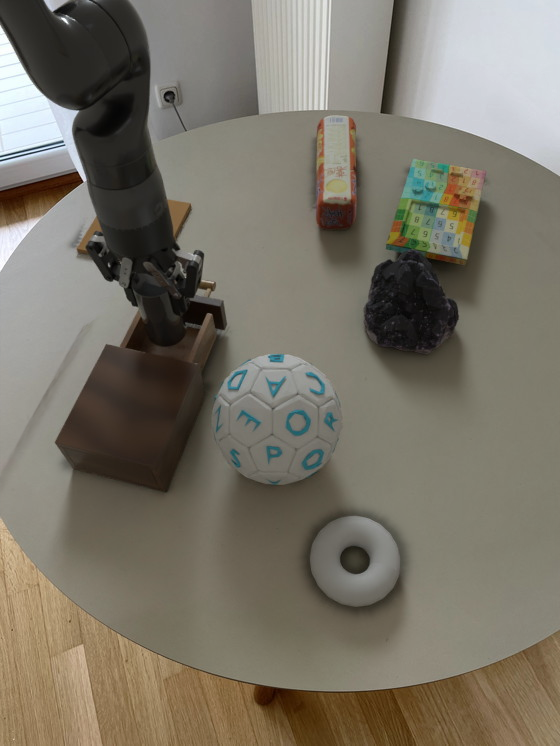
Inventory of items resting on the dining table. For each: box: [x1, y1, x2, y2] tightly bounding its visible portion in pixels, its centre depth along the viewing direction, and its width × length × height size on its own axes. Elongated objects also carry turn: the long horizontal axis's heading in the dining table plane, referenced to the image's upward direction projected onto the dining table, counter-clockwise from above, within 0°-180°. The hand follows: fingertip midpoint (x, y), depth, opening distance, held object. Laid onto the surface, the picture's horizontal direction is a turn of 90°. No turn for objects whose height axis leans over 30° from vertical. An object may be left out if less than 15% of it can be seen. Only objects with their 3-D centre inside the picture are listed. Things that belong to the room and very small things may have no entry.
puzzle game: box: [385, 158, 487, 266], centre depth 100 cm, size 12×5×20 cm
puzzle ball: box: [211, 353, 343, 486], centre depth 75 cm, size 15×15×15 cm
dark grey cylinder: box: [131, 273, 187, 347], centre depth 82 cm, size 5×5×10 cm
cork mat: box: [76, 198, 192, 261], centre depth 104 cm, size 14×14×1 cm
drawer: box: [119, 275, 228, 374], centre depth 88 cm, size 18×11×5 cm, turn 164°
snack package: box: [315, 114, 358, 231], centre depth 105 cm, size 21×7×7 cm, turn 177°
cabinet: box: [54, 343, 207, 493], centre depth 81 cm, size 15×13×7 cm
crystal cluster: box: [363, 249, 460, 355], centre depth 88 cm, size 13×14×10 cm
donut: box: [309, 515, 402, 608], centre depth 72 cm, size 10×4×10 cm
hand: (159, 305), depth 82 cm, fingers closed on dark grey cylinder, 5 cm apart
